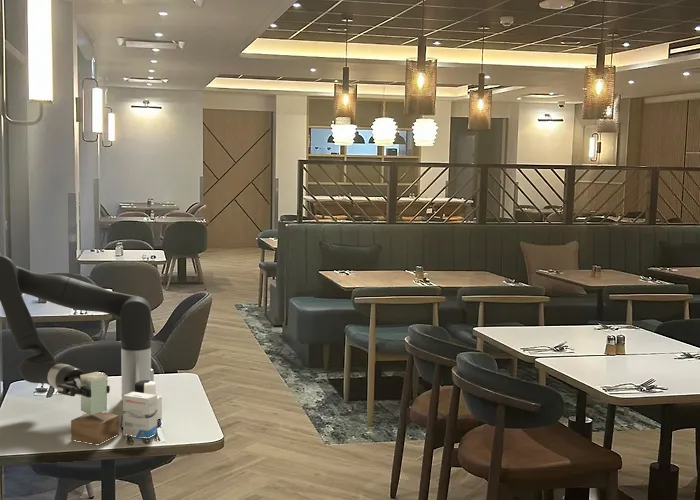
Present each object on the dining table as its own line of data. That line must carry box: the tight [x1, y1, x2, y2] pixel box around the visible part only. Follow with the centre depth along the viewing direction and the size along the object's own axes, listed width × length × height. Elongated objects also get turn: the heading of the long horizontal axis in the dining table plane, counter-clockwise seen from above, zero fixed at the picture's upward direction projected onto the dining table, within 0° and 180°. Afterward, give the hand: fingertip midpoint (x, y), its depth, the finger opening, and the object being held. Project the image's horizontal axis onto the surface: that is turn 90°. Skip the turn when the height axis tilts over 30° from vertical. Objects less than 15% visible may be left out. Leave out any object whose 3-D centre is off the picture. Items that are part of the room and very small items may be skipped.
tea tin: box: [80, 371, 108, 415], centre depth 220 cm, size 5×5×10 cm
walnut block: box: [70, 412, 120, 445], centre depth 221 cm, size 9×9×6 cm
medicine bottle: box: [135, 380, 163, 421], centre depth 236 cm, size 7×7×12 cm
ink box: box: [122, 392, 158, 438], centre depth 224 cm, size 8×5×12 cm, turn 71°
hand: (99, 391), depth 218 cm, fingers closed on tea tin, 5 cm apart
